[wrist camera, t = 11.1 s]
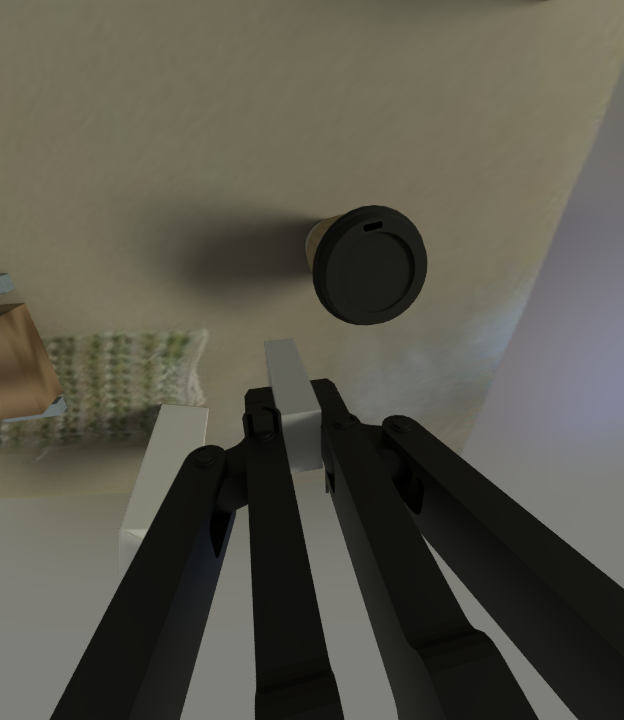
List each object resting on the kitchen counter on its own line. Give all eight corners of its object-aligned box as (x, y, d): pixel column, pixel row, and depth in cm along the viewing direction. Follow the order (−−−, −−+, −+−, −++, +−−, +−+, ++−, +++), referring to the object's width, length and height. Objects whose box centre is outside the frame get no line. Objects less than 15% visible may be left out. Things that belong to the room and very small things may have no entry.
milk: (208, 407, 46) (192, 561, 27) (203, 442, 48) (185, 608, 29) (160, 403, 44) (105, 565, 25) (158, 439, 47) (105, 614, 27)
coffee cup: (299, 296, 42) (328, 344, 29) (280, 211, 37) (305, 222, 24) (374, 277, 43) (436, 316, 29) (365, 192, 38) (434, 192, 25)
